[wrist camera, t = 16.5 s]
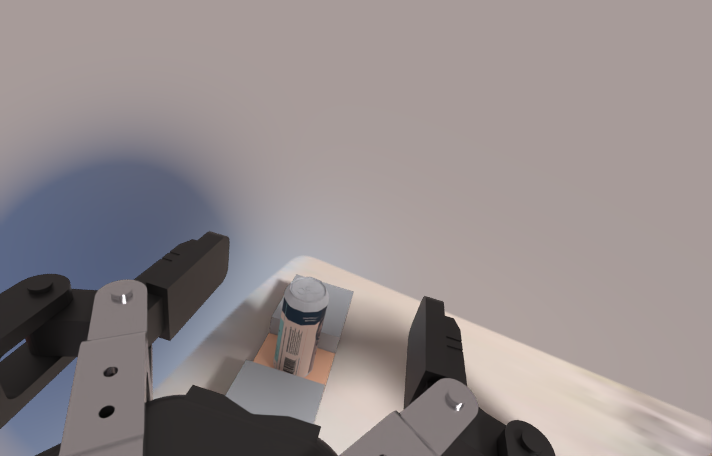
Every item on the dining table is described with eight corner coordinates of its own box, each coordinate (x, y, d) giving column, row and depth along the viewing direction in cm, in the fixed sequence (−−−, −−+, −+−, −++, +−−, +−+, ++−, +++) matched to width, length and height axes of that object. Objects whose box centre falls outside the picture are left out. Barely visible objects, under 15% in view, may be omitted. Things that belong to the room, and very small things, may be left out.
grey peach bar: (348, 311, 53) (353, 291, 52) (289, 503, 31) (295, 481, 29) (292, 294, 54) (296, 274, 52) (195, 471, 31) (194, 447, 29)
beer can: (319, 373, 41) (339, 297, 36) (283, 389, 39) (298, 309, 33) (301, 344, 44) (317, 270, 39) (266, 356, 42) (277, 279, 36)
